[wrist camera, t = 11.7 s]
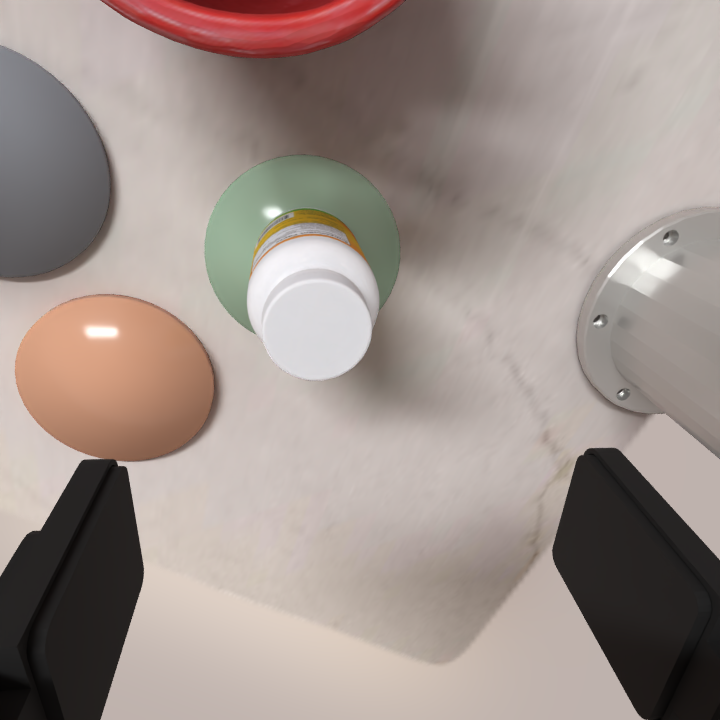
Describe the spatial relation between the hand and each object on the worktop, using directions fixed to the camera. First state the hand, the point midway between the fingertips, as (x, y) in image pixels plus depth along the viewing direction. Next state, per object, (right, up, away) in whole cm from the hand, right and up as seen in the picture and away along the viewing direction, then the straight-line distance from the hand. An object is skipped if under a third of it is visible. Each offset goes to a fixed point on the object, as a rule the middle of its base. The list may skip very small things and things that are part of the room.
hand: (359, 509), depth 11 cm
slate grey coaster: (-17, +12, +13) cm, 24 cm away
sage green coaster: (-3, +9, +17) cm, 20 cm away
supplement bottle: (-3, +8, +17) cm, 19 cm away
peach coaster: (-13, +2, +18) cm, 23 cm away
